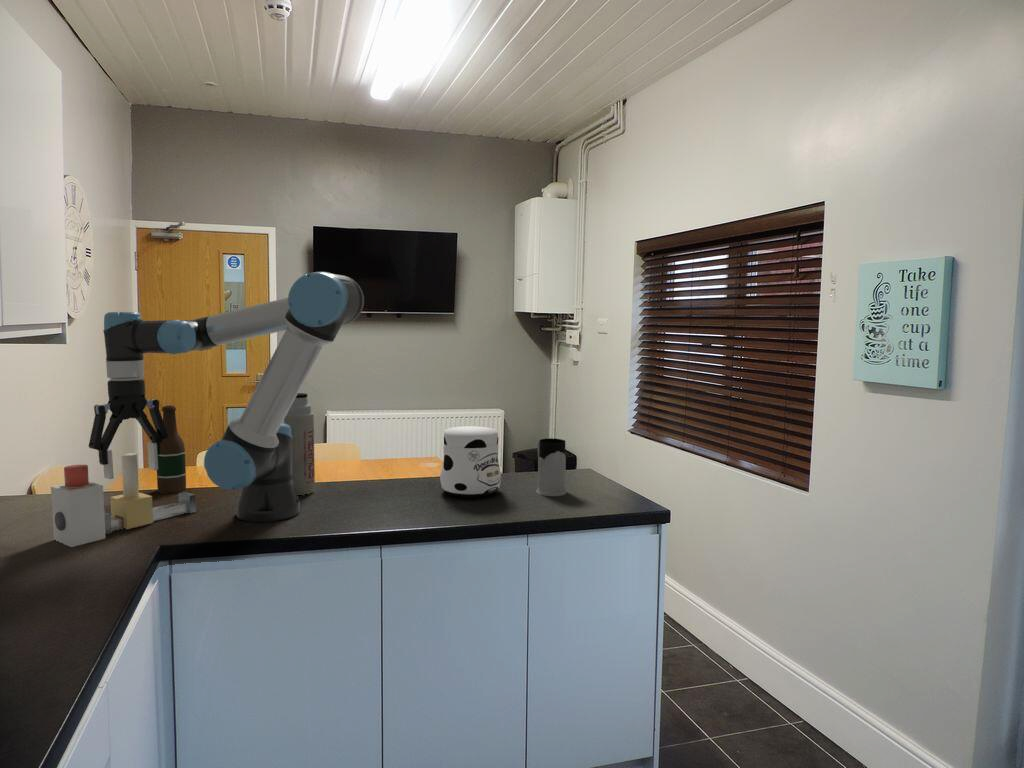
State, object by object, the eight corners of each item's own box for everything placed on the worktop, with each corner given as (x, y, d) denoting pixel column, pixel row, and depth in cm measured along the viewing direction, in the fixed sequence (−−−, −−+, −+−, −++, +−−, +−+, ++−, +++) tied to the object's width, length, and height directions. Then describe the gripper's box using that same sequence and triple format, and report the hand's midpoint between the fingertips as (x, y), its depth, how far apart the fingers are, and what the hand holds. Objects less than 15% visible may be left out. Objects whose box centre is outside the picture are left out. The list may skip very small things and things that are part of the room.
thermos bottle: (320, 491, 193) (319, 393, 190) (298, 497, 186) (296, 396, 184) (301, 487, 197) (300, 391, 194) (279, 492, 191) (277, 393, 188)
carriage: (153, 522, 162) (150, 454, 160) (127, 529, 157) (124, 459, 155) (137, 517, 165) (134, 450, 164) (111, 523, 160) (108, 455, 159)
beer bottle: (163, 487, 195) (160, 404, 193) (191, 486, 196) (188, 404, 193) (151, 494, 187) (148, 408, 185) (180, 494, 188) (177, 408, 186)
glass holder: (543, 497, 190) (544, 444, 189) (524, 485, 203) (525, 435, 202) (571, 494, 193) (573, 442, 192) (551, 482, 207) (552, 434, 205)
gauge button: (92, 484, 150) (91, 466, 149) (70, 488, 146) (69, 470, 146) (82, 481, 152) (81, 463, 152) (61, 485, 149) (60, 467, 148)
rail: (196, 512, 172) (195, 494, 171) (104, 535, 153) (103, 515, 153) (184, 508, 174) (184, 491, 174) (93, 530, 156) (92, 511, 156)
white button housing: (105, 538, 151) (103, 485, 150) (69, 547, 145) (66, 492, 144) (87, 531, 156) (85, 480, 154) (51, 540, 149) (48, 486, 148)
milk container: (499, 501, 185) (500, 436, 183) (436, 500, 185) (436, 435, 184) (501, 485, 202) (502, 426, 201) (443, 484, 203) (444, 425, 201)
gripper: (164, 374, 169) (168, 463, 171) (65, 382, 150) (72, 481, 152) (181, 375, 165) (185, 466, 167) (82, 383, 146) (89, 485, 148)
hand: (131, 473), depth 160 cm, fingers open, 10 cm apart
